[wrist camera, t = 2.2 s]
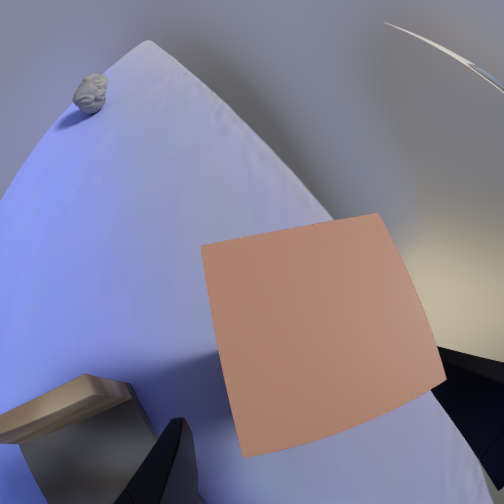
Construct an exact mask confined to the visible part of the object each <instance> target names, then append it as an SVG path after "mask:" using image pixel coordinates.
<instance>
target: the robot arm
mask: <svg viewBox="0 0 504 504" xmlns="http://www.w3.org/2000/svg"><path fill="white" fill-rule="evenodd" d="M437 348H438V352H439V355H440V358H441V361H442V365H443V368H444V372H445V375H446V379H447V380H445V381H444V382H442V383H440V384H439V385H437V386H436V387H434V388H432V389H431V391H432V393H433V395H434V396H435V398H436V399H437V400H438V402H439V403H440V404H441V406H442V407H443V408H444V410H445V411H446V413H447V414H448V415H449V417H450V418H451V420H452V421H453V422H454V424H455V425H456V427H457V428H458V430H459V431H460V432H461V434H462V435H463V437H464V438H465V440H466V441H467V443H468V444H469V446H470V447H471V449H472V450H473V452H474V453H475V455H476V456H477V458H478V459H479V461H480V463H481V464H482V466H483V467H484V469H485V470H486V472H487V474H488V476H489V477H490V479H491V480H492V482H493V484H494V485H495V487H496V489H497V490H498V491H499V490H500V489H502V488H503V487H504V362H500V361H495V360H490V359H486V358H482V357H478V356H474V355H470V354H466V353H461V352H458V351H454V350H450V349H446V348H442V347H438V346H437ZM113 504H198V473H197V464H196V457H195V450H194V442H193V435H192V431H191V429H190V427H189V426H188V424H187V422H186V420H185V419H184V418H183V417H179V418H172V419H171V420H170V422H169V423H168V425H167V426H166V428H165V429H164V431H163V432H162V434H161V435H160V437H159V438H158V440H157V441H156V443H155V444H154V446H153V447H152V449H151V450H150V452H149V453H148V455H147V456H146V458H145V459H144V461H143V462H142V463H141V465H140V466H139V468H138V469H137V471H136V472H135V474H134V475H133V477H132V478H131V479H130V481H129V482H128V484H127V485H126V487H125V488H124V489H123V491H122V492H121V494H120V495H119V496H118V498H117V499H116V500H115V502H114V503H113Z"/></svg>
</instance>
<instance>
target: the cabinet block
mask: <svg viewBox="0 0 504 504" xmlns="http://www.w3.org/2000/svg"><path fill="white" fill-rule="evenodd" d="M201 253H202V259H203V266H204V272H205V279H206V285H207V291H208V297H209V302H210V308H211V314H212V319H213V325H214V330H215V335H216V341H217V346H218V351H219V356H220V361H221V366H222V370H223V375H224V380H225V384H226V389H227V393H228V398H229V402H230V407H231V411H232V415H233V419H234V423H235V427H236V431H237V435H238V439H239V443H240V447H241V451H242V455H243V458H245V457H251V456H256V455H261V454H266V453H271V452H275V451H279V450H283V449H287V448H291V447H295V446H299V445H302V444H306V443H309V442H312V441H316V440H319V439H322V438H325V437H328V436H331V435H334V434H336V433H339V432H342V431H345V430H347V429H350V428H353V427H355V426H358V425H360V424H362V423H365V422H367V421H370V420H372V419H374V418H376V417H379V416H381V415H383V414H385V413H387V412H389V411H391V410H393V409H396V408H398V407H400V406H401V405H403V404H405V403H407V402H409V401H411V400H413V399H415V398H417V397H418V396H420V395H422V394H424V393H425V392H427V391H429V390H431V389H432V388H434V387H436V386H437V385H439V384H440V383H442V382H444V381H445V380H447V379H446V375H445V372H444V368H443V365H442V361H441V358H440V355H439V352H438V348H437V345H436V342H435V339H434V337H433V333H432V331H431V328H430V325H429V322H428V320H427V317H426V314H425V312H424V309H423V306H422V304H421V302H420V299H419V297H418V294H417V292H416V289H415V287H414V285H413V283H412V280H411V278H410V276H409V273H408V271H407V269H406V267H405V265H404V262H403V260H402V258H401V256H400V254H399V252H398V250H397V248H396V246H395V244H394V242H393V240H392V238H391V236H390V234H389V232H388V230H387V229H386V227H385V225H384V223H383V221H382V219H381V217H380V216H379V214H378V213H374V214H369V215H362V216H357V217H351V218H345V219H340V220H334V221H328V222H323V223H317V224H312V225H306V226H301V227H295V228H290V229H284V230H279V231H274V232H268V233H263V234H258V235H253V236H247V237H242V238H237V239H232V240H227V241H222V242H217V243H212V244H207V245H202V246H201Z"/></svg>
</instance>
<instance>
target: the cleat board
mask: <svg viewBox="0 0 504 504" xmlns="http://www.w3.org/2000/svg"><path fill="white" fill-rule="evenodd" d="M158 438H159V436H158V434H157V433H156V431H155V429H154V427H153V426H152V424H151V422H150V420H149V419H148V417H147V415H146V413H145V411H144V410H143V408H142V406H141V404H140V402H139V400H138V398H137V396H136V394H135V392H134V390H133V388H132V386H131V384H129V383H124V382H119V381H114V380H109V379H105V378H101V377H96V376H92V375H88V374H83V375H81V376H79V377H77V378H75V379H73V380H71V381H69V382H68V383H66V384H64V385H62V386H60V387H58V388H56V389H54V390H52V391H50V392H48V393H46V394H43V395H41V396H39V397H37V398H35V399H33V400H31V401H29V402H27V403H25V404H23V405H21V406H19V407H17V408H14V409H12V410H10V411H8V412H6V413H4V414H2V415H0V443H4V444H19V445H20V448H21V450H22V453H23V455H24V457H25V460H26V462H27V464H28V466H29V468H30V470H31V472H32V474H33V476H34V478H35V480H36V482H37V484H38V486H39V488H40V490H41V491H42V493H43V495H44V497H45V498H46V500H47V502H48V503H49V504H113V503H114V502H115V500H116V499H117V498H118V496H119V495H120V494H121V492H122V491H123V489H124V488H125V487H126V485H127V484H128V482H129V481H130V479H131V478H132V477H133V475H134V474H135V472H136V471H137V469H138V468H139V466H140V465H141V463H142V462H143V461H144V459H145V458H146V456H147V455H148V453H149V452H150V450H151V449H152V447H153V446H154V444H155V443H156V441H157V440H158ZM198 504H206V502H205V501H204V500H203V499H202V497H201V496H200V495H199V494H198Z"/></svg>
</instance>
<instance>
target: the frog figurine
mask: <svg viewBox="0 0 504 504" xmlns="http://www.w3.org/2000/svg"><path fill="white" fill-rule="evenodd" d="M105 89H107V77H106V75H104V74H90V75H88V76H87V77H86V78H84V80H83V82H82V83H81V85H80V86H79V87H78V89H77V90H76V92H75V95H74V97H73V103H75V105H76V106H78V107H79V109H80V110H81V111H82V112H84V113H86V114H92V113H95V112H97V111H99V110H100V109H101V108H102V107H103V105H104V103H105V99H106V98H105V93H106V90H105Z"/></svg>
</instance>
